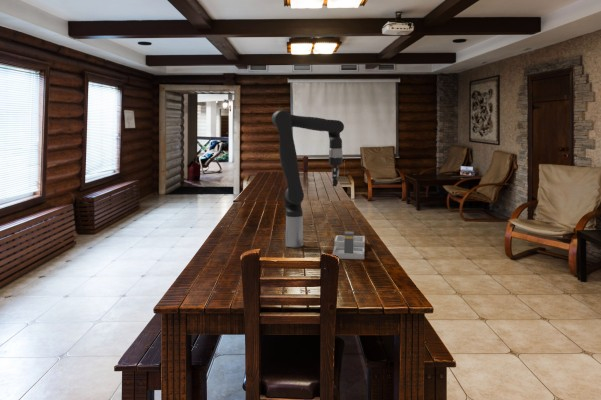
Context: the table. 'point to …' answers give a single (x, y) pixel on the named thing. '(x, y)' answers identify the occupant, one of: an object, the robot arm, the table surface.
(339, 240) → the case
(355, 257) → the lid
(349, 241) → the module
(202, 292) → the table surface
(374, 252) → the table surface
